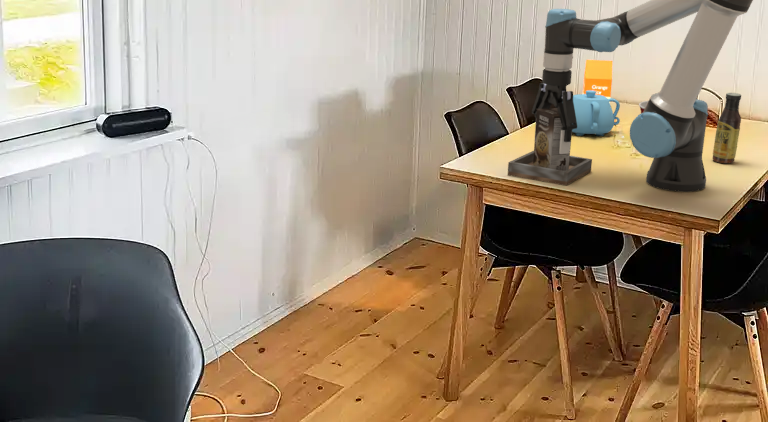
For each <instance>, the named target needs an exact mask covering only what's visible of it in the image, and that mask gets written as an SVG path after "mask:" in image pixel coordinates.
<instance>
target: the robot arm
mask: <svg viewBox="0 0 768 422" xmlns="http://www.w3.org/2000/svg"><path fill="white" fill-rule="evenodd" d="M753 2H754V0H649V1H646V2H644V3H642V4H639V5H637V6H635V7H633V8H630V9H629V10H627V11H624V12H622V13H619V14H617V15H616V16H613V17H610V18H609V17H608V18H602V19H597V20H592V19H590V20H589V19H581V18H578V17H577V12H576V10H574V9H569V8H552V9H550V10H549V11H547V15H546V21H545V22H546V23H545V37H544V51H543V60H542V61H543V63H542V67H543V70H542V77H541V79H542V80H541V81H542V82H539V85H538V91H537V95H536V97H535V100H534V103H533V106H532V109H531V114H532V115H534V118H535V119H536V114H537V109H545V108H546V109H547V108H548V109H551V108H550V107H551V106H552V105H553V106H554V107H555V108H557V110H558V113H559V116H560V120H561V123H562V126H563V127H562V128H561V136H560V150H559V153H560V154H568V153H570V154H571V148H570V142H571V143H572V137H571V133H572V134H573V132H572V130H573V129H577V121H576V115H575V109H574V103H573V95H574V91H573V90H569V91H567V86H570V84H571V83H572V74H573V73H572V70H571V69H572V68H573V59H574V49H575V50H576V49H577V50H578V49H579V50H586V51H594V52H598V53H613V52H614V51H616V49H617V48H618V47H619V46H625V45H627V44H630V43H632V42H633V41H634V40H636V39H638V38H640V37H642V36H645V35H646V34H649V33H652V32H654V31H656V30H659V29H661V28H663V27H666V26H668V25H671V24H673V23H675V22H677V21H679V20H682V19H684V18H688V17H689V16H692V15H694V14H696V15H695V17H694V19H693V21H692V23H691V25H690V28H689V30H688V32H687V34H686V36H685V38H684V40H683V42H682V45H680V46H681V47H680V48H679V51H678V53H677V55H676V57H675V59H674V62H673V63H672V65H671V68H670V70H669V72H668V74H667V76H666V78H665V80H664V82H663V84H662V87H661V88H660V91H658V92H657V93H653V94H651V96H650V97H649V100H647V101H648V103H647V105H646V108H645V110H644V112H643V113H641V112H640V113H639V114H638V115H637V116H636V117H635V118H634V119H633V120H632V121H631V124H630V128H629V138H630V140H631V143H632V146H633V147H634V148H635V150H636V151H637V152H638V153H640V154H641V155H642V156H645V157H647V158H650V159H651V158H652V159H653V160H652V162H651V164H650V167H649V169H648V171H647V172H646V179H645V182H646V184H648V185H650V186H651V187H653V188H657V189H659V190H660V189H661V190H664V191H672V192H681V193H682V192H683V193H684V192H685V193H686V192H687V193H689V192H698V191H702V190H703V189H706V185H707V177H706V170H705V167H704V162H703V151H704V143H705V137H706V128H707V121H708V120H707V119H708V116H709V113H708V107H709V105H708V103H707V102H706V101H705V100H702V99H697V98H698V97H699V95H700V93H701V90H702V89H703V86H704V84H705V83H706V80H707V78H708V76H709V74H710V73H711V70H712V69H713V66H714V64H715V62H716V60H717V58H718V56H719V55H720V53H721V50H722V48H723V46H724V44H725V42H726V40H727V37H728V36H729V34H730V32H731V30H732V28H733V26H734V24H735V22H736V20H737V18H738V17H739V16H742V15H744V14H747V13H748V11H749V9H750V7H751V5H752V3H753ZM562 102H563V103H562ZM534 129H536V124H535V128H534Z"/></svg>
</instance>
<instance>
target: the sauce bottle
mask: <svg viewBox="0 0 768 422" xmlns="http://www.w3.org/2000/svg"><path fill="white" fill-rule="evenodd" d="M741 99H742V94H741V93H738V92H727V93H726V95H725V103H724V108H723V110H722V112H721V114H720V116H719V119H718V120H717V125H716V132H715V137H714V144H713V150H712V160H713V161H714V162H716V163H719V164H733V163H735V158H736V156H737V150H738V149H737V148H738V143H739V136H740V132H741V123H742V117H741V114H740V112H739V109H740V102H741Z"/></svg>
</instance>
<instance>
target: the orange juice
mask: <svg viewBox="0 0 768 422" xmlns="http://www.w3.org/2000/svg"><path fill="white" fill-rule="evenodd" d="M583 76H584V77H583V84H582V85H583V86H582V87H583V88H582V94H586V91H587V90H594V91H596V94H595V95H603V96H605V97H606V98H607V99H609V98H612V97H611V95H612V85H613V84H612V83H613V60H604V59H603V60H602V59H600V60H599V59H598V60H597V59H586V60H585V68H584V74H583ZM609 103H610V104H611V102H609Z"/></svg>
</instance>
